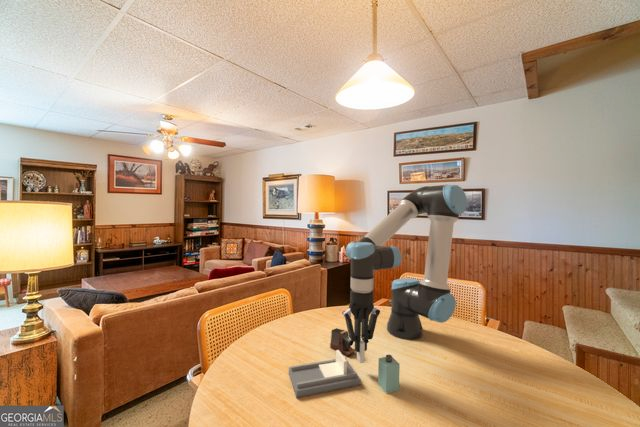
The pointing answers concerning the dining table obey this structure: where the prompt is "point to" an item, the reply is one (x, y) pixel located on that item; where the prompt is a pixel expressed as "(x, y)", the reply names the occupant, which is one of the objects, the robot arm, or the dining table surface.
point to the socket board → (320, 379)
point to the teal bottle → (388, 374)
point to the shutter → (334, 366)
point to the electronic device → (341, 342)
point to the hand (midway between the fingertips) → (360, 360)
